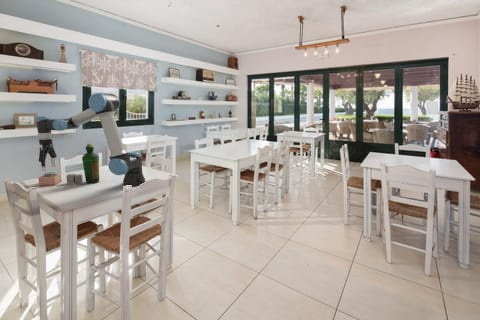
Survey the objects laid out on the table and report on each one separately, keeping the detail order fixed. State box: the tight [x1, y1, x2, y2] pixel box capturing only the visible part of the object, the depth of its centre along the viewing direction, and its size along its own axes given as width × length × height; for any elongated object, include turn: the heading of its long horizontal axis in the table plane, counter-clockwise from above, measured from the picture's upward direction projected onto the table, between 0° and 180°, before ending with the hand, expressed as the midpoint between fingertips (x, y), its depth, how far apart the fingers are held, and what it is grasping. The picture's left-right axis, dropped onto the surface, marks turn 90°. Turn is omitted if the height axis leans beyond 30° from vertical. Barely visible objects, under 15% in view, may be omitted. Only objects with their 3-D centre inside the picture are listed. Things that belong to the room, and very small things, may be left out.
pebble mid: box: [65, 173, 76, 185], centre depth 194 cm, size 4×4×6 cm
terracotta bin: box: [37, 173, 63, 187], centre depth 192 cm, size 10×10×6 cm
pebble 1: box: [43, 171, 56, 177], centre depth 192 cm, size 4×4×7 cm
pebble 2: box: [74, 173, 84, 185], centre depth 195 cm, size 4×4×6 cm
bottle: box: [81, 143, 100, 185], centre depth 196 cm, size 11×11×28 cm
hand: (49, 168), depth 191 cm, fingers open, 13 cm apart
